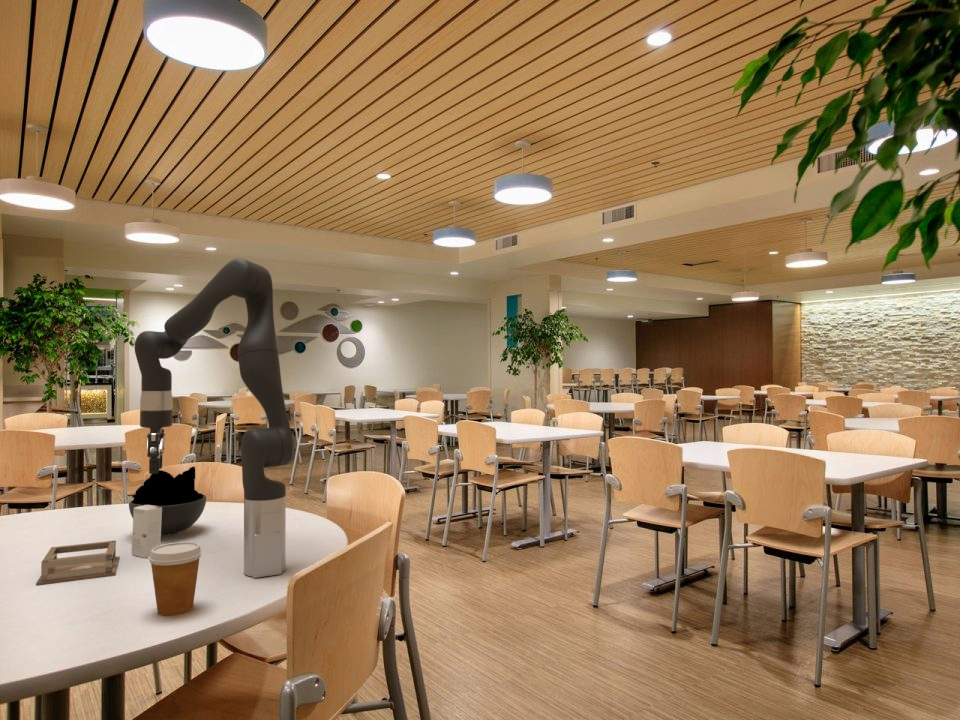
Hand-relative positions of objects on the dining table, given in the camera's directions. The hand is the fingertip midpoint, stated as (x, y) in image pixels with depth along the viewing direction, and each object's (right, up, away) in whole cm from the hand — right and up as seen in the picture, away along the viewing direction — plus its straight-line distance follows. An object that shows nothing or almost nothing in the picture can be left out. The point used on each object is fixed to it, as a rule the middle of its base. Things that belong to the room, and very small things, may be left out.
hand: (155, 471), depth 164 cm
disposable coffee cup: (+24, -20, -40) cm, 51 cm away
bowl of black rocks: (-5, -22, +18) cm, 28 cm away
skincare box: (-1, -21, -3) cm, 21 cm away
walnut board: (-9, -21, -16) cm, 28 cm away
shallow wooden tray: (-9, -21, -16) cm, 28 cm away
